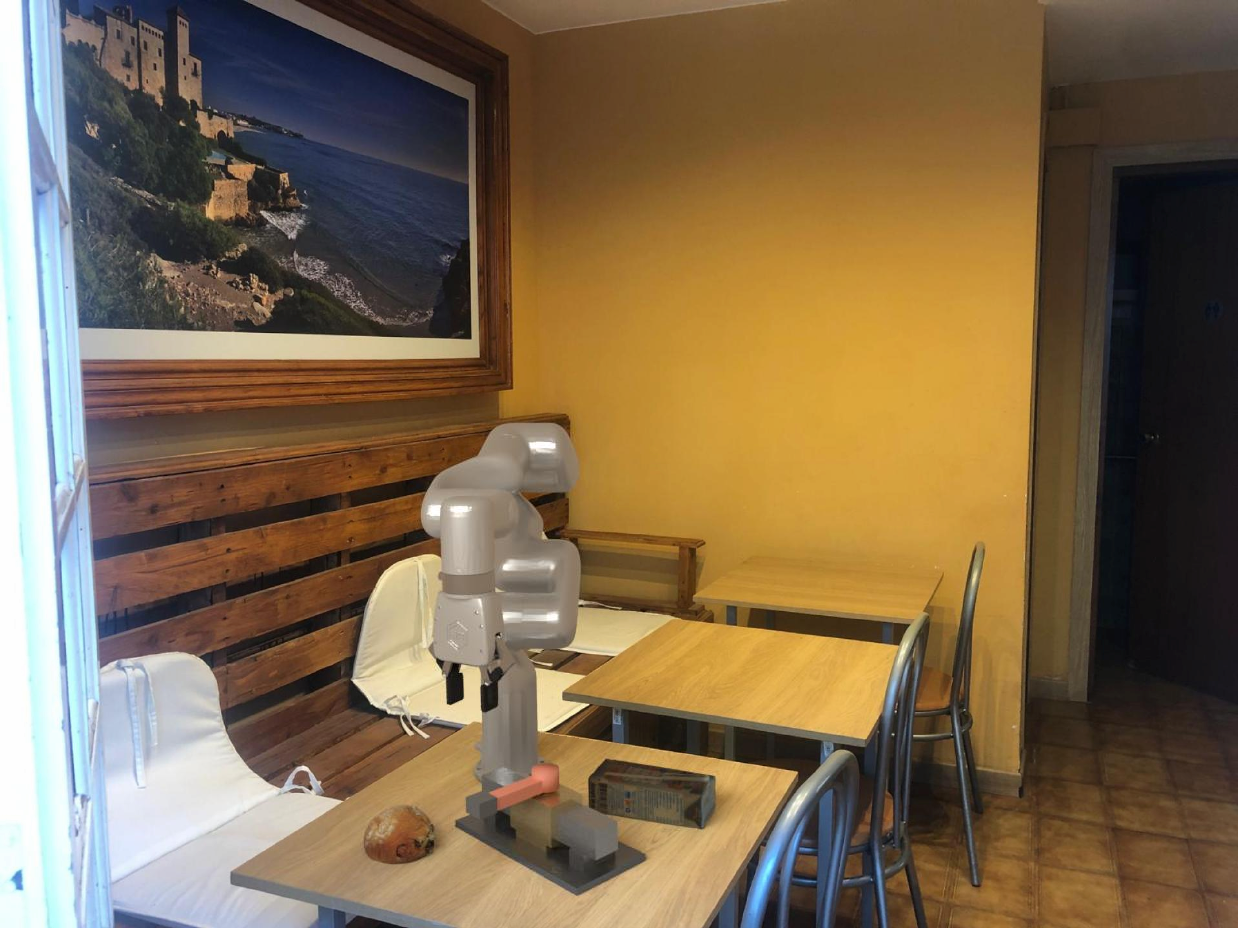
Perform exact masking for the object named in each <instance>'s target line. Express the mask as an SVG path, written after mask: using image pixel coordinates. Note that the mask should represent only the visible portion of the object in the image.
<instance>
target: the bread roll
mask: <svg viewBox="0 0 1238 928" xmlns="http://www.w3.org/2000/svg"><path fill="white" fill-rule="evenodd" d="M434 831H435V824H433V823H432V821H431V820H430V818H429V816H428V815H427V814H426V813H425V812H424V811H423V810H421V809H420V808H418V807H417V806H414V805H409V804H400V805H399V804H398V805H394V806H391V807H389V808H386V809H384V810H382V811H381V812H380V813H378V814H377V815H375V816H374V817H373V818H372V819H371V820H370V822H369V824H367V827H366V828H365V832H364V834H363V848H364V852H365V853H366V855H367V857H368V858H369V859H371V860H372V861H375V862H380V863H382V864H388V865H403V864H408V863H409V864H410V863H414V862H416V861H418V860H420V859H422V858H424V857H426V856H427V855H428V854H430V853H431V852H432V850H433V847H434V846H435V840H436V839H437V836H436V834H435V833H434Z"/></svg>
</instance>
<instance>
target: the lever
mask: <svg viewBox="0 0 1238 928" xmlns="http://www.w3.org/2000/svg"><path fill="white" fill-rule="evenodd" d="M559 784H560V766H559V765H557V764H555V763H550V762H547V763H541V764H537V765H535V766H533V767H532V776H531V777H528V778H525V779H523V780H520V781H517V782H515V783H512V784H510V785H507V786H504V787H502V788H499V789H497V790H494V791H491V792H489V793H487V792H486V791H484V790H483V791H482V790H481V791H478V792H475V793H473V794H470V795H467V796H465V813H467V815H472V816H474V817H476V818H478V819H479V820H480V819H483V818H485V817H488V816H490V815H493V814H495V813H497V811H499V810H501V809H504V808H506V807H508V806H511V805H513V804H516V803H518V802H521V801H523V800H526V799H528V798H531V797H533V796H536V795H538V794H541V793H549V792H553V791H556V790H557V789H558V788H559Z"/></svg>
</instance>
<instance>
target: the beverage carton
mask: <svg viewBox="0 0 1238 928" xmlns="http://www.w3.org/2000/svg"><path fill="white" fill-rule="evenodd" d="M587 778H588V779H587V787H588V788H587V789H588V792H587V793H588V794H587V796H588V807H589V808H591V809H593V810H596V811H598V812H600V813H602V814H604V815H608V816H609V815H610V816H614V817H615V816H617V817H621V818H622V817H623V818H628V819H632V820H638V821H640V820H641V821H646V822H651V823H658V824H662V825H670V826H676V827H681V828H683V827H684V828H690V829H695V828H697V830H704V829H705V826H706V825H707V823H708V821H709V820H710V819H711V817H712V815H713V814H714V812H715V810H716V807H717V806H716V805H717V803H716V802H717V801H716V800H717V794H716V782H717V779H716V776H715V775H712V774H706V773H698V772H693V771H689V770H688V771H687V770H682V769H677V768H672V767H671V768H670V767H663V766H659V765H652V764H644V763H637V762H631V761H626V760H618V759H610V758H604V760H603V761H602V762H601V763H600V764H599V765H598V766H597V767H596V769H595V770H594V772H592V773H591V774H590V775H589V777H587Z"/></svg>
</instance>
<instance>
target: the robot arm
mask: <svg viewBox="0 0 1238 928" xmlns="http://www.w3.org/2000/svg"><path fill="white" fill-rule="evenodd" d="M579 462H580V461H579V458H578V454H577V452H576V449H575V447H574V444H573V442H572V440H571V437H570V436H569V434H568V432H567V431H566V430H565V428H564V427H562V426H561V425H559V424H557V423H554V422H508V423H503V424H500V425H498V426H495V428H493V429H492V430H491V431H490V432H489V434H488V435H487V437H486V439H485V440H484V443H483V445H482V446H481V449H480V450H479V453H478V454H477V456H474V457H471V458H469V459H467V460H464V461H462V462H460V463H458V464H455V465H453V466H450V467H448V468H446V469H444V470H442V471H441V472H440V473H439V474H437V475H436V476H435V477H434V478H433V480H432V482H431V484H430V485H429V487H428V488H427V490H426V493H425V494H424V496H423V500H422V504H421V508H420V521H421V525H422V528H423V529H424V531H425V532H426V533H427V534H428V535H429V536H430V537H432V538H434V539H435V538H436V539H440V554H441V555H440V557H441V559H440V561H441V571H439V572H438V575H437V578H438V580H439V581H441V589H442V590H439V591H438V593H437V596H436V601H435V607H434V613H433V614H434V615H433V616H434V617H433V631H432V632H433V634H432V638H433V639H432V640H433V641H432V642H431V643H430V645H429V646H428V647H427V648H428V649H427V651H428V652H429V654H430V655H431V656H432V657H433V659H434V660H435V663H436V665H437V666H438V667H439V668H440V670H441V675H442V677H443V678H445V690H446V691H445V693H446V694H445V695H446V696H445V698H446V705H448V706H453V705H454V704H456V703H459V702H461V701H463V700H464V699H465V687H464V685H465V684H464V683H465V682H464V678H465V677H464V673H463V672H460V671H461V667H462V666H463V665H464V666H467V667H475V668H478V669H479V672H480V686H479V690H480V691H479V693H480V711H481V727H482V728H481V729H482V733H481V737H480V741H476V742H475V743H474V746H473V749H475V750H477V751H479V752H480V759H479V760H478V761H477V762H476V764H475V765H474V768H473V769H474V773H473V774H474V776H475V778H476V779H477V780H479V781H480V782H482V776H481V775H484V774H487V773H489V772H492V771H495V770H497V769H500V768H506V769H508V770H510V771H512V772H514V773H516V774H518V775H521V776H523V777H525V778H528V777H531V776H532V767H533V766H535V765H537V764H541V763H548V762H547V760H546V759H545V758H544V757H543V756H541V755H539V730H538V723H539V722H538V720H539V719H538V686H537V685H538V682H537V680H538V679H537V678H538V677H537V671H536V668H535V665H534V664H533V663H534V662H532V660H531V658H530V657H529V655H527V653H526V651H524V650H528V649H529V650H558V649H559V650H560V649H565V648H568V647H569V646H570V645H572V643H573V642H574V640H575V637H576V634H577V627H578V615H579V603H580V602H579V601H580V599H579V598H580V590H581V589H580V586H581V574H582V571H581V569H582V566H581V563H582V562H581V556H580V553H579V550H578V547H577V546H576V545H575V543H573V542H571V541H570V540H566V539H559V538H558V539H557V538H556V539H554V538H553V539H552V538H551V539H550V538H547V539H546V538H543V532H544V531H543V530H544V520H543V517H542V516H541V514H540V513H539V512H538V510H537V509H536V507H535V506H534V504H532V503H531V502H530V501H529V500H528V499H527V498H526V497H524V496H523V495H522V493H567V492H570V491H572V490H573V489H574V488H575V487H576V486H577V483H578V480H579V478H580V463H579ZM496 589H498V590H499V591H496Z"/></svg>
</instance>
